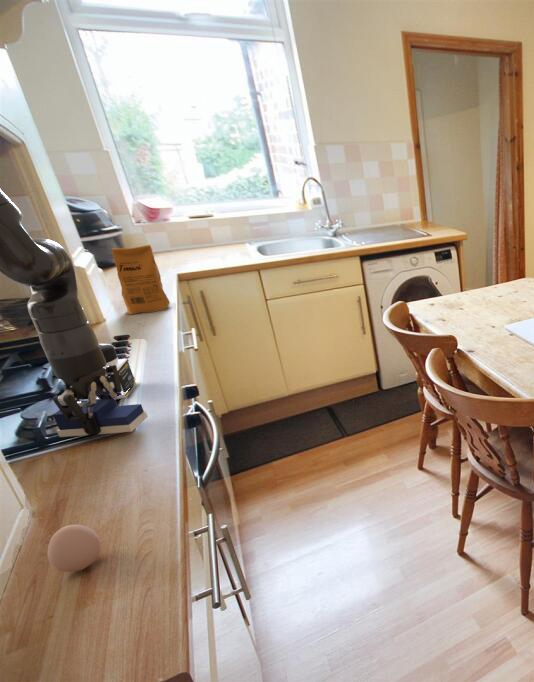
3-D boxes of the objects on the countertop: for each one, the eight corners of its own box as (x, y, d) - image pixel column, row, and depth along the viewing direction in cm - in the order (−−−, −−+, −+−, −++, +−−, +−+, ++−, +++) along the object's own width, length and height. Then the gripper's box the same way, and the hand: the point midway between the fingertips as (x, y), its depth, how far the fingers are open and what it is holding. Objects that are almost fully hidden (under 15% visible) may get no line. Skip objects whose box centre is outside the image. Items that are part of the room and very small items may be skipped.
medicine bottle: (127, 398, 107) (108, 350, 102) (88, 404, 104) (68, 355, 100) (137, 384, 113) (120, 338, 108) (100, 389, 110) (82, 343, 106)
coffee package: (130, 307, 165) (109, 245, 156) (172, 302, 170) (153, 242, 162) (124, 316, 157) (101, 251, 148) (168, 310, 162) (149, 247, 154)
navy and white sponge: (59, 437, 90) (49, 415, 88) (79, 422, 95) (69, 400, 93) (132, 431, 92) (123, 410, 90) (147, 416, 97) (140, 396, 95)
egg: (56, 588, 61) (34, 550, 58) (61, 562, 65) (41, 525, 62) (106, 569, 64) (87, 532, 61) (108, 545, 68) (91, 509, 65)
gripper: (66, 364, 81) (101, 444, 87) (119, 332, 94) (146, 405, 100) (18, 366, 80) (57, 448, 87) (78, 334, 93) (108, 407, 100)
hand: (104, 424), depth 93 cm, fingers closed on navy and white sponge, 5 cm apart
